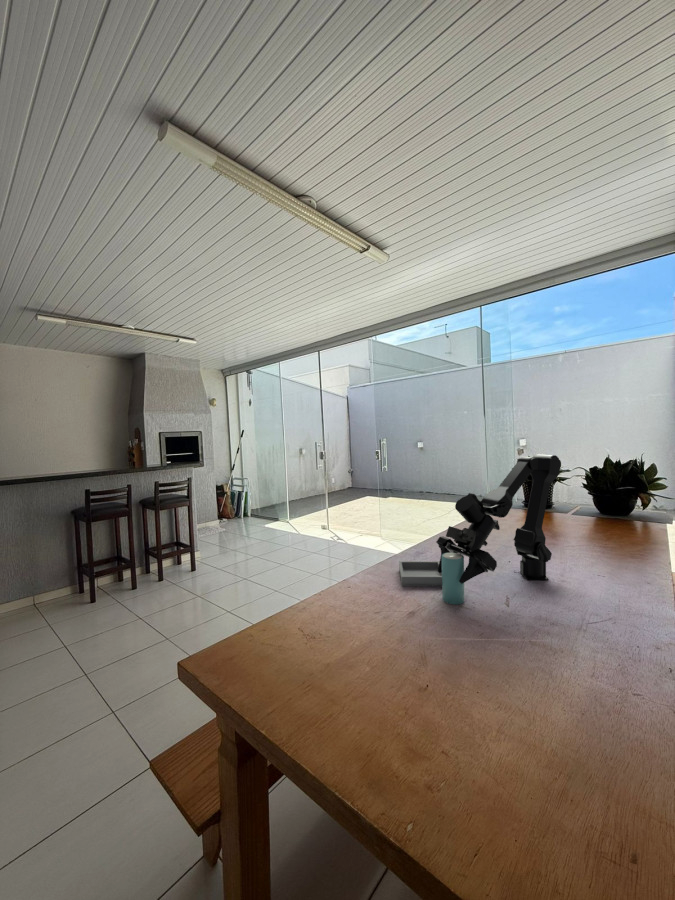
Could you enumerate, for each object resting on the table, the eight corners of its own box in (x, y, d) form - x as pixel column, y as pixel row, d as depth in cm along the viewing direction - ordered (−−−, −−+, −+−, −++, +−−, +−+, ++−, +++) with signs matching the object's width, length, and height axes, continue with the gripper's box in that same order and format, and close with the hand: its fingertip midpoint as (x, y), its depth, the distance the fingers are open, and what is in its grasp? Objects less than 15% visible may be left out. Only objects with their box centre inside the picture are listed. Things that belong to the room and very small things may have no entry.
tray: (439, 569, 131) (439, 561, 131) (447, 586, 118) (446, 576, 118) (399, 569, 133) (399, 561, 133) (401, 586, 119) (401, 576, 119)
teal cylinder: (461, 594, 112) (461, 552, 111) (466, 604, 106) (466, 559, 105) (440, 594, 112) (439, 552, 112) (444, 604, 106) (443, 559, 106)
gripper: (440, 509, 118) (411, 551, 114) (488, 522, 101) (457, 572, 97) (460, 531, 122) (433, 572, 118) (510, 547, 105) (480, 595, 101)
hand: (449, 577), depth 108 cm, fingers open, 8 cm apart
